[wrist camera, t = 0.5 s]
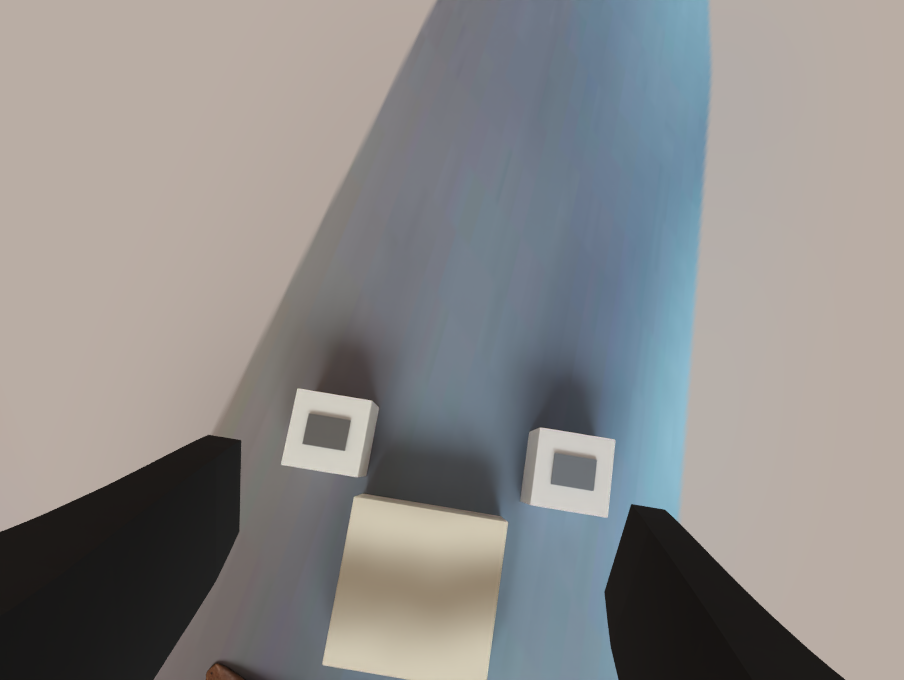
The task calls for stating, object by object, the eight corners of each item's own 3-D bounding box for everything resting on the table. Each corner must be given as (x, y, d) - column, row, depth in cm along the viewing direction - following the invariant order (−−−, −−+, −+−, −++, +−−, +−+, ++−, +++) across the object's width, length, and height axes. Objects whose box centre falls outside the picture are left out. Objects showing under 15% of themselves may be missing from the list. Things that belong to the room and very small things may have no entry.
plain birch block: (479, 665, 32) (485, 692, 28) (336, 641, 32) (322, 664, 29) (500, 515, 34) (508, 522, 30) (363, 493, 34) (354, 496, 30)
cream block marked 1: (588, 512, 34) (608, 518, 30) (519, 501, 34) (530, 505, 30) (595, 443, 35) (616, 439, 31) (528, 432, 35) (540, 427, 31)
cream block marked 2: (366, 475, 34) (356, 477, 30) (298, 464, 34) (279, 464, 30) (379, 407, 35) (371, 400, 31) (313, 396, 35) (296, 387, 31)
